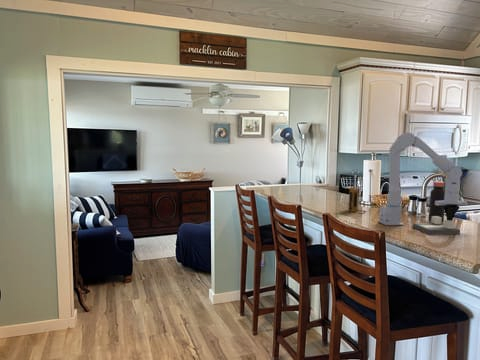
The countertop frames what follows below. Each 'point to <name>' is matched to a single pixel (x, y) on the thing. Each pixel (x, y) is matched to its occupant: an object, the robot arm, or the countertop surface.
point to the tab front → (448, 224)
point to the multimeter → (354, 198)
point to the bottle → (437, 195)
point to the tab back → (436, 219)
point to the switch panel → (435, 228)
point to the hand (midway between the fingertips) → (449, 220)
